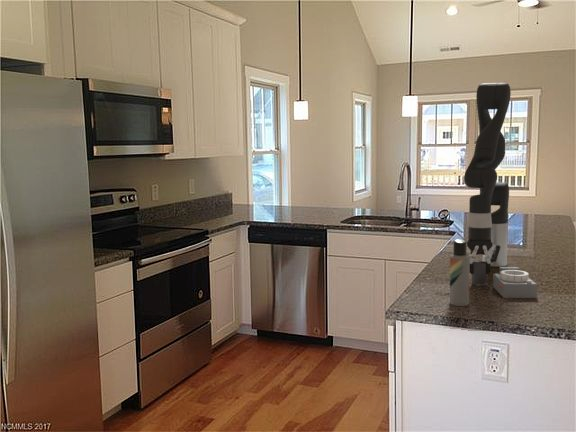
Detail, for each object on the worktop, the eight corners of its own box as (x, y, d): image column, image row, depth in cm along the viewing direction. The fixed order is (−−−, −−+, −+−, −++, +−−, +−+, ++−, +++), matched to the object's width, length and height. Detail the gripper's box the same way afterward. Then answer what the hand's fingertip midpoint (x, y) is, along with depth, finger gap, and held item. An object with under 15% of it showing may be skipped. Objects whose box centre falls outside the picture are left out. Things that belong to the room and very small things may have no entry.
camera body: (491, 286, 188) (491, 266, 187) (523, 286, 187) (523, 266, 186) (501, 297, 174) (502, 276, 173) (536, 298, 173) (537, 276, 172)
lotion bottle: (465, 300, 172) (466, 238, 169) (471, 306, 166) (472, 241, 164) (447, 301, 172) (447, 238, 169) (453, 306, 166) (453, 241, 164)
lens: (470, 282, 194) (471, 260, 193) (484, 282, 193) (484, 260, 192) (473, 286, 189) (473, 263, 188) (487, 286, 189) (487, 263, 188)
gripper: (498, 223, 191) (497, 271, 194) (456, 224, 193) (455, 271, 195) (504, 226, 184) (503, 276, 186) (460, 227, 186) (459, 276, 188)
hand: (478, 273), depth 191 cm, fingers closed on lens, 4 cm apart
